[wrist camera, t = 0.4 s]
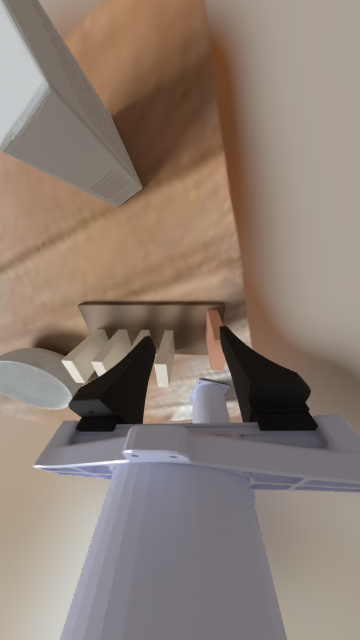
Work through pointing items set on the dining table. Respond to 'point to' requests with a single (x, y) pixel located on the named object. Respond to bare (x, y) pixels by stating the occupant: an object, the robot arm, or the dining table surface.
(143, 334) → the domino
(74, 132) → the skincare box
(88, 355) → the domino
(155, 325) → the board
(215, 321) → the terracotta domino
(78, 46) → the dining table surface
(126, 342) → the domino
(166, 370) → the domino
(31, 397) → the cereal bowl
